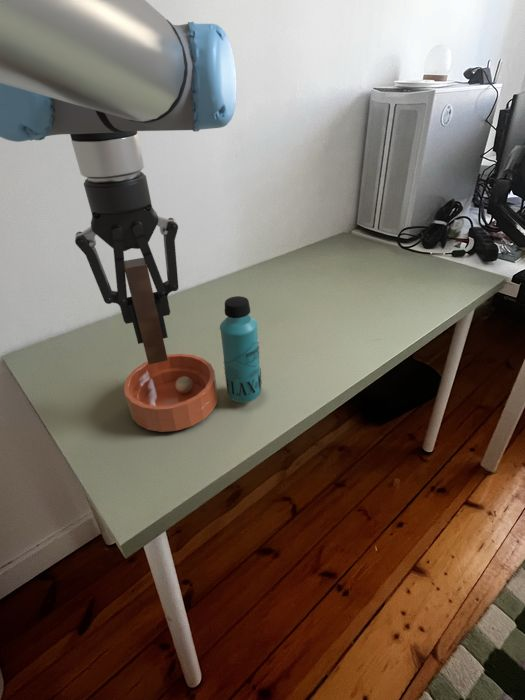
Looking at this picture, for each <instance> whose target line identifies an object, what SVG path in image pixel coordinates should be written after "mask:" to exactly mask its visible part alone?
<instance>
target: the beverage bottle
mask: <svg viewBox="0 0 525 700" xmlns="http://www.w3.org/2000/svg"><path fill="white" fill-rule="evenodd" d="M250 313H251V307H250V301H249V299H248V298H247V297H245V296H241V295H239V296H238V295H236V296H235V295H234V296H231V297H228V298H227V299H226V300H225V301H224V315H225V316H226V317H225V318H224V320H222V322H221V323H220V325H219V331H220V338H221V346H222V354H223V362H222V364H223V370H224V376H225V378H224V379H225V380H224V381H225V385H226V394H227V395H228V397H229V398H230V399H231V400H232V401H234V402H237V403H249V402H252V401H254V400H256V399H257V398H258V397H260V395H261V392H262V389H263V388H262V382H263V381H262V369H261V365H260V364H261V362H260V357H261V356H260V345H259V335H258V327H259V325H258V321H257V320H256V319H255V318H254V317H252V316H250Z"/></svg>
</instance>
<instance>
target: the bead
mask: <svg viewBox="0 0 525 700" xmlns="http://www.w3.org/2000/svg"><path fill="white" fill-rule="evenodd" d="M175 387H176V389H177V391H178V392H180V393H182V394H186V393H189V392H190V391H191V390H192V388H193V382H192V380H191V379H190V378H189V377H186V376H182V377H180V378H178V379H177V381H176V384H175Z"/></svg>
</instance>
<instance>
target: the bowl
mask: <svg viewBox="0 0 525 700" xmlns="http://www.w3.org/2000/svg"><path fill="white" fill-rule="evenodd" d="M167 358H168V360H167V361H163V362H159V363H154V364H150V365H149V364H148V360H147V361H145V362H143V363H141V364H140V365H139V366H137V367H136V368H135V369H133V370H132V371H131V373H130V374H129V375H128V376H127V377H126V378H125V382H124V385H123V392H124V396H125V400H126V404H127V407H128V409H129V413H130V417H131V419H133V421H134V422H135V423H136V424H137V425H138V426H140V427H142V428H144V429H146V430H147V431H152V432H153V431H155V432H160V433H164V432H165V433H166V432H177V431H181V430H184V429H187V428H190V427H193V426H195V425H197V424H198V423H200V422H203V421H204V420H205V419H206V418H207V417H208V416H209V415H210V414H211V413H212V412H213V411H214V409H215V407H216V405H217V403H218V398H219V397H218V395H219V392H218V386H217V379H216V378H217V377H216V372H215V369H214V367H213V365H212V364H211V363H210V362H209V361H208V360H206V359H205V358H203V357H200V356H197V355H194V354H189V353H188V354H187V353H175V354H174V353H172V354H167ZM182 376H186V377H189V378H190V379H191V380H192V382H193V388H192V390H191V391H190V392H189V393H186V394H182V393H180V392H178V391H177V389H176V387H175V384H176V381H177V379H178V378H180V377H182Z"/></svg>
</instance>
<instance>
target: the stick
mask: <svg viewBox="0 0 525 700" xmlns="http://www.w3.org/2000/svg"><path fill="white" fill-rule="evenodd" d="M124 265H125V268H124V269H125V277H126V282H127V285H128V288H129V293H130V297H132V301H133V305H134V309H135V313H136V317H137V321H138V325H139V329H140V333H141V337H142V341H143V343H142V344H143V348H144V353H145V356H146V360H147V361H148V364H149V365H150V364H154V363H159V362H163V361H167V360H168V358H167V355H168V354H167V349H166V345H165V340H164V338H163V336H162V331H161V327H160V322H159V317H158V313H157V308H156V304H155V299H154V295H153V292H154V291H153V286H152V282H151V281H152V280H151V276H150V272H149V270H148V267H147V264H146V262H145V260H144V257H138V258H133V259H128V260H127V259H126V260H124Z"/></svg>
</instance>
